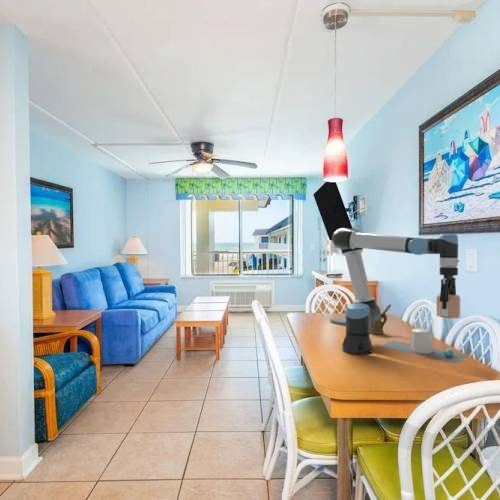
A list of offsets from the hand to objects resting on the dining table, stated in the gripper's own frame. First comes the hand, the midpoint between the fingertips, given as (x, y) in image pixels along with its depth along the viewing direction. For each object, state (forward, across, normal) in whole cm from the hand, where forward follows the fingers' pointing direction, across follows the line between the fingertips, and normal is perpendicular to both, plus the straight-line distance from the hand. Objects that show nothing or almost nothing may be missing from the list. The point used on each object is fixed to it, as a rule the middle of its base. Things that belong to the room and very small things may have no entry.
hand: (448, 314), depth 162 cm
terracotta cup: (+1, 0, 0) cm, 1 cm away
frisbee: (+22, +37, +72) cm, 84 cm away
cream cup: (+20, 0, +12) cm, 23 cm away
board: (+21, 0, +12) cm, 24 cm away
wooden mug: (+22, +24, +45) cm, 55 cm away
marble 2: (+18, +2, 0) cm, 18 cm away
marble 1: (+18, -2, 0) cm, 18 cm away
